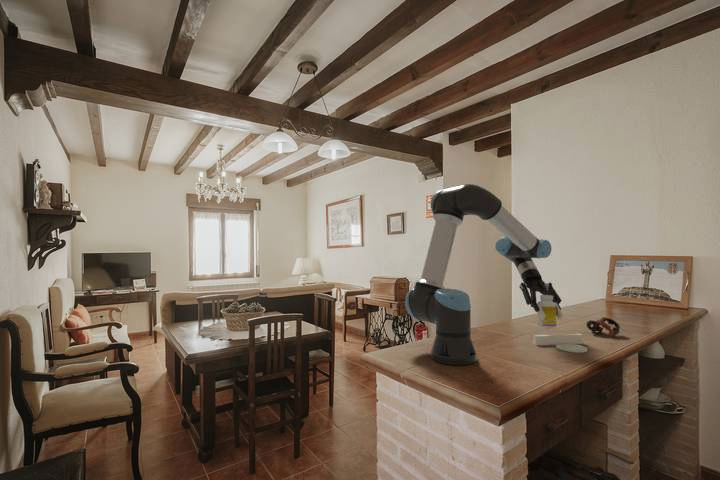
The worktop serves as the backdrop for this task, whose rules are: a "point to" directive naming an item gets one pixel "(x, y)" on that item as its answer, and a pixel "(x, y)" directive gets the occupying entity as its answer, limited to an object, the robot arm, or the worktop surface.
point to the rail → (558, 339)
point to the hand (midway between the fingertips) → (552, 317)
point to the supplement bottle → (547, 312)
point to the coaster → (572, 348)
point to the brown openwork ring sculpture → (604, 325)
